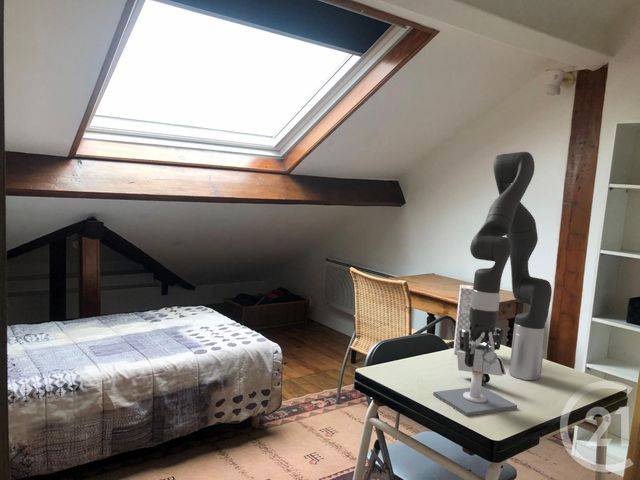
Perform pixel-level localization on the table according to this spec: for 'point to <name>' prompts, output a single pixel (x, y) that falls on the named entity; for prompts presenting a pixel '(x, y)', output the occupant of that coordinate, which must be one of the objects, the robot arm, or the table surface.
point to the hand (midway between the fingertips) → (478, 365)
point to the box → (462, 314)
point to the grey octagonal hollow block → (482, 358)
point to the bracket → (495, 369)
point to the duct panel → (474, 398)
